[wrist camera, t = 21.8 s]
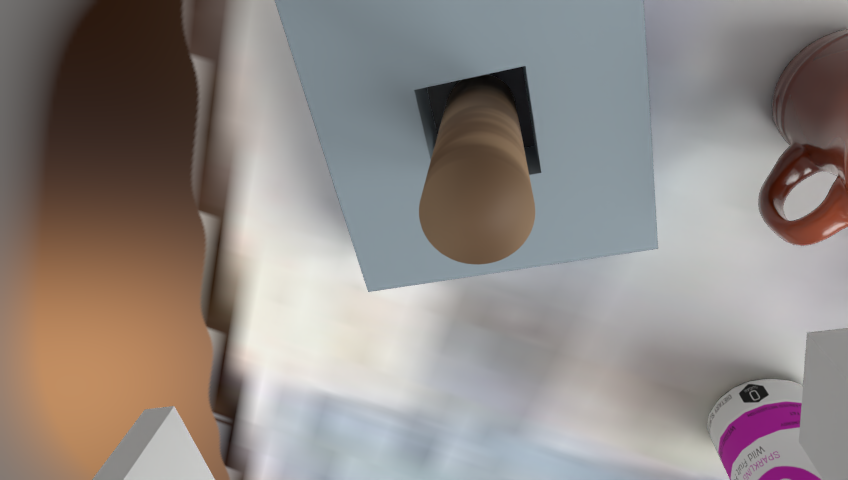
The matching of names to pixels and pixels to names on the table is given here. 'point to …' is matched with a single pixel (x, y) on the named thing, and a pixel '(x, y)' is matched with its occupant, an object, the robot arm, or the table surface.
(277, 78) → the table surface
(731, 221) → the table surface
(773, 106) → the mug
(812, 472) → the supplement can
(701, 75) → the table surface
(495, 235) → the walnut peg
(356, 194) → the socket block
